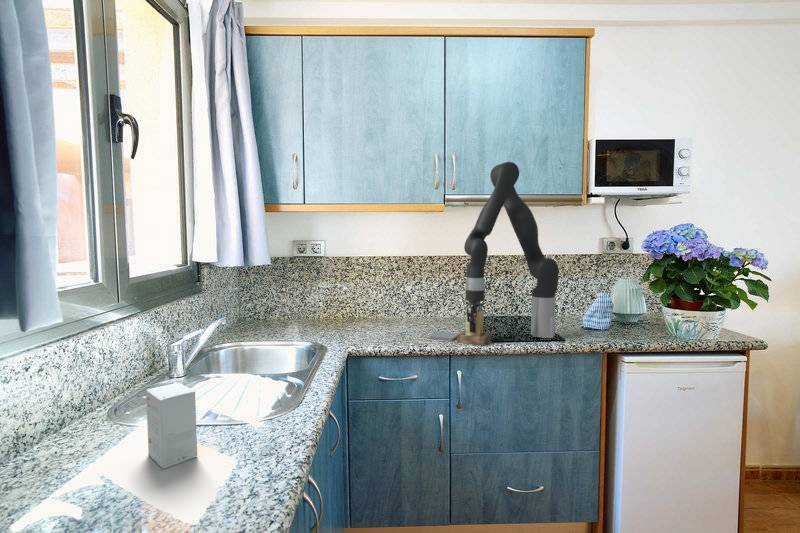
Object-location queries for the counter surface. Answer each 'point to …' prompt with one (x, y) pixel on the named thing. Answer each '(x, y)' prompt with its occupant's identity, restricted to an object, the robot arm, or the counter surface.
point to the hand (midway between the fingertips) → (474, 330)
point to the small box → (171, 424)
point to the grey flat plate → (444, 336)
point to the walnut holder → (474, 339)
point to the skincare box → (479, 325)
